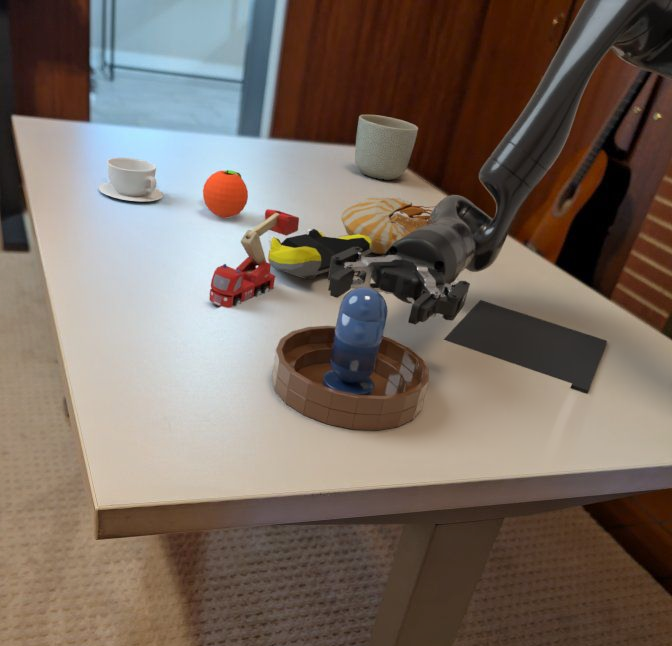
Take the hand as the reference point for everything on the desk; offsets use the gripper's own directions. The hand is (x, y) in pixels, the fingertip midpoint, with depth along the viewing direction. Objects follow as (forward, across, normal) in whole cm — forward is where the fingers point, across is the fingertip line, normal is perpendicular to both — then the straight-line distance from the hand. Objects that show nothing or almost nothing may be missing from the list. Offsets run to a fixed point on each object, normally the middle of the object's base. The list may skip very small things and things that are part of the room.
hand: (373, 301), depth 74 cm
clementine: (-37, -39, +10) cm, 55 cm away
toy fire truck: (-12, -20, +10) cm, 25 cm away
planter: (-91, -34, +10) cm, 98 cm away
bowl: (+3, 0, +9) cm, 10 cm away
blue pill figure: (+3, 0, +9) cm, 9 cm away
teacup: (-33, -54, +10) cm, 64 cm away
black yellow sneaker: (-26, -18, +10) cm, 33 cm away
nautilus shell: (-45, -12, +10) cm, 48 cm away
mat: (-26, +13, +9) cm, 31 cm away
